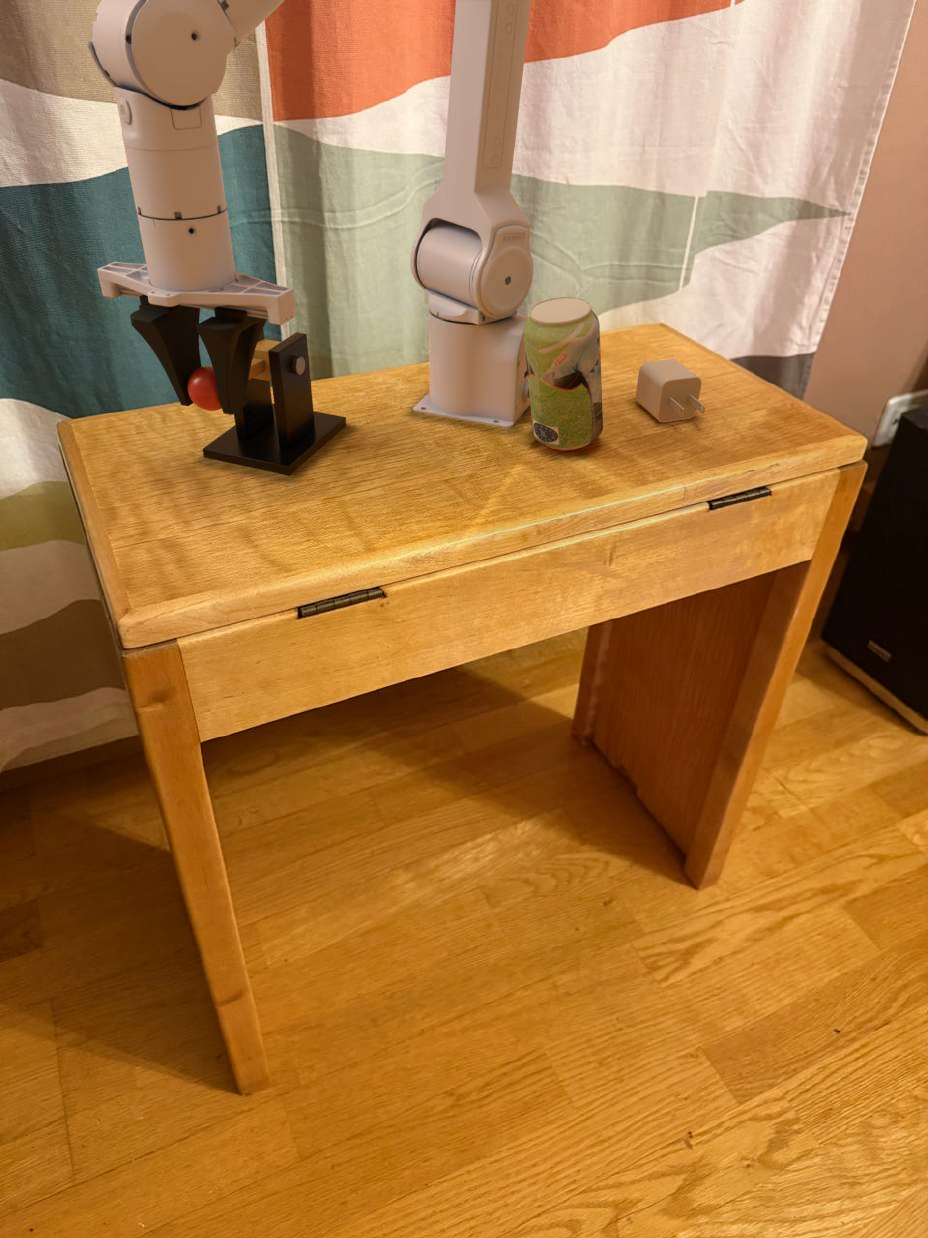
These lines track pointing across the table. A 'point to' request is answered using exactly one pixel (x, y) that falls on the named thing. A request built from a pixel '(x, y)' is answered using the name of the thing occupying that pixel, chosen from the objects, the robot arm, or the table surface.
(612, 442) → the table surface
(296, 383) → the switch bracket
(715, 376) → the table surface
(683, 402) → the usb wall charger
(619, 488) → the table surface
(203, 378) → the switch lever
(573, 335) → the beverage can
